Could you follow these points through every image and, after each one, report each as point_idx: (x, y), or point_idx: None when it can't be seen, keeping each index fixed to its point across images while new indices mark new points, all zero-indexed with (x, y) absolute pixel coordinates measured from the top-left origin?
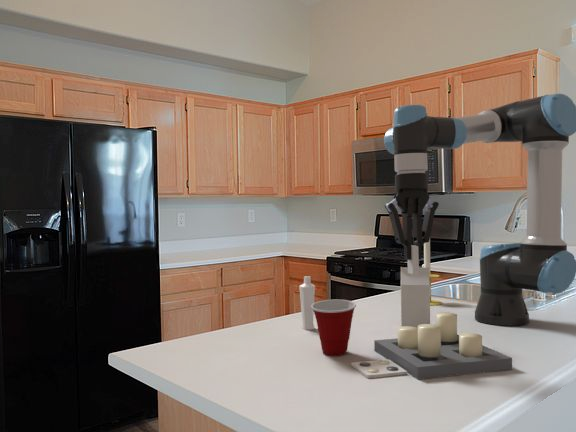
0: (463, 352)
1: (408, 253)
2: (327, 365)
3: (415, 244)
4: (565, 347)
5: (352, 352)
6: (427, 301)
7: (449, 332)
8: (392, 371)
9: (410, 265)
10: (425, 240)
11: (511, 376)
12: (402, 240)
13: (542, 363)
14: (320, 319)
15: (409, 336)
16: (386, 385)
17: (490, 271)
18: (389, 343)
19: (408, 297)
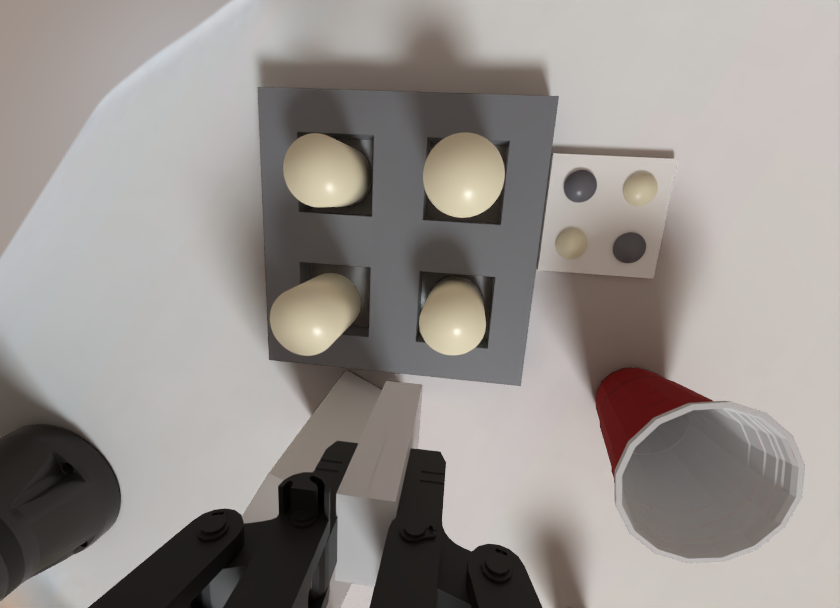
0: (362, 165)
1: (427, 483)
2: (711, 302)
3: (333, 546)
4: (43, 217)
5: (581, 381)
6: (306, 437)
7: (330, 279)
8: (591, 167)
9: (415, 438)
10: (234, 526)
11: (307, 46)
12: (504, 570)
13: (172, 117)
14: (753, 439)
15: (466, 290)
16: (658, 87)
17: None
18: (497, 341)
19: None
